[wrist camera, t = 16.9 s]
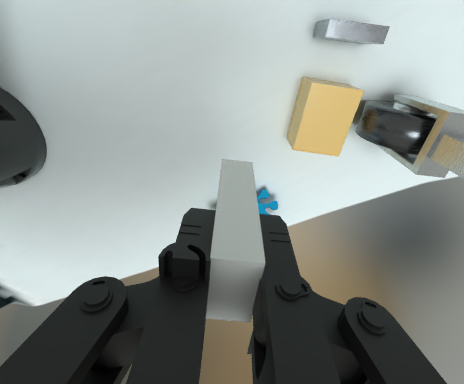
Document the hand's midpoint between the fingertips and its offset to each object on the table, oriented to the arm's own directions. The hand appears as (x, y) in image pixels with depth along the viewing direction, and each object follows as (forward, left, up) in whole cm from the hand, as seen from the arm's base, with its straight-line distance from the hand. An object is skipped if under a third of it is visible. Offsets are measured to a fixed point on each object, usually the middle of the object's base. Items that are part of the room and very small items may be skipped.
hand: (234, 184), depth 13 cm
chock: (+11, -1, -24) cm, 26 cm away
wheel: (+20, 0, -24) cm, 31 cm away
